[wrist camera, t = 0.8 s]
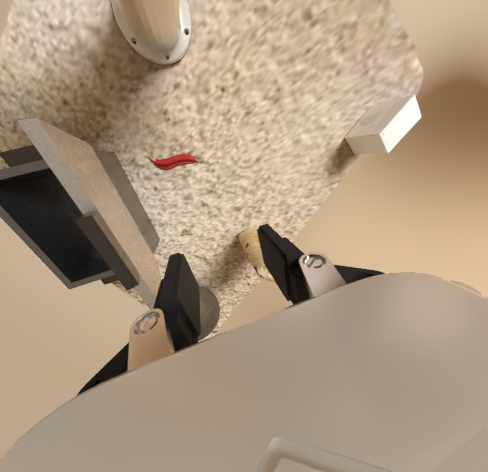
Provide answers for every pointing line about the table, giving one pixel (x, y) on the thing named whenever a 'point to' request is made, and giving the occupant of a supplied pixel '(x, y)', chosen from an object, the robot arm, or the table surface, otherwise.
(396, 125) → the skincare box
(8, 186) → the grey lidded box
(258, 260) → the food model
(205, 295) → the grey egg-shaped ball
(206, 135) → the table surface
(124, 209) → the lid
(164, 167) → the cayenne pepper
